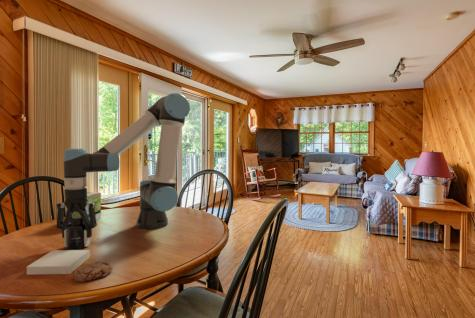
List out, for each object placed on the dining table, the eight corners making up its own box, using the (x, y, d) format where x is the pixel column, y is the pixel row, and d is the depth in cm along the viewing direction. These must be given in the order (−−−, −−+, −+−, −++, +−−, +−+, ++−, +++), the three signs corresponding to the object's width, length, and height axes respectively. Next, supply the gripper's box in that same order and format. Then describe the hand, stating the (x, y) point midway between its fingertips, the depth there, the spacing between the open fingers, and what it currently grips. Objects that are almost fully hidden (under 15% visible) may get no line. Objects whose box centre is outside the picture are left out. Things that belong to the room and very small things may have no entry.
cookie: (66, 280, 81) (66, 270, 81) (95, 265, 91) (95, 257, 91) (91, 286, 78) (91, 276, 78) (118, 270, 88) (118, 261, 88)
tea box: (85, 227, 132) (84, 197, 131) (65, 226, 132) (64, 196, 131) (101, 218, 147) (101, 191, 146) (83, 218, 147) (82, 191, 146)
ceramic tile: (90, 256, 98) (89, 249, 98) (69, 273, 85) (69, 266, 85) (52, 257, 97) (52, 250, 97) (26, 274, 84) (26, 266, 84)
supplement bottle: (72, 251, 102) (71, 220, 101) (63, 247, 106) (62, 217, 105) (90, 245, 108) (90, 216, 107) (81, 242, 111) (80, 213, 111)
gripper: (43, 189, 101) (45, 249, 102) (97, 189, 102) (98, 248, 103) (55, 186, 108) (57, 242, 110) (105, 186, 110) (107, 241, 111)
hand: (77, 245), depth 107 cm, fingers closed on supplement bottle, 7 cm apart
